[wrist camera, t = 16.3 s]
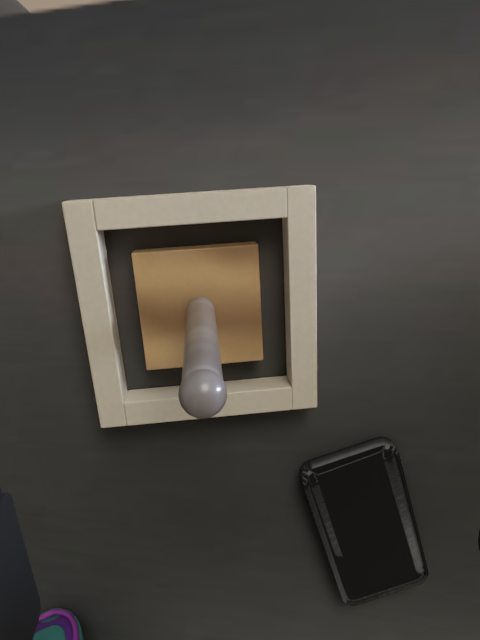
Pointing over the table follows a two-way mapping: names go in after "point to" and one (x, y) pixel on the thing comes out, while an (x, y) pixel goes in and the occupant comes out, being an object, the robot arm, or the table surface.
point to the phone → (365, 520)
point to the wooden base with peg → (199, 315)
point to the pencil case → (58, 626)
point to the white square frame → (183, 209)
